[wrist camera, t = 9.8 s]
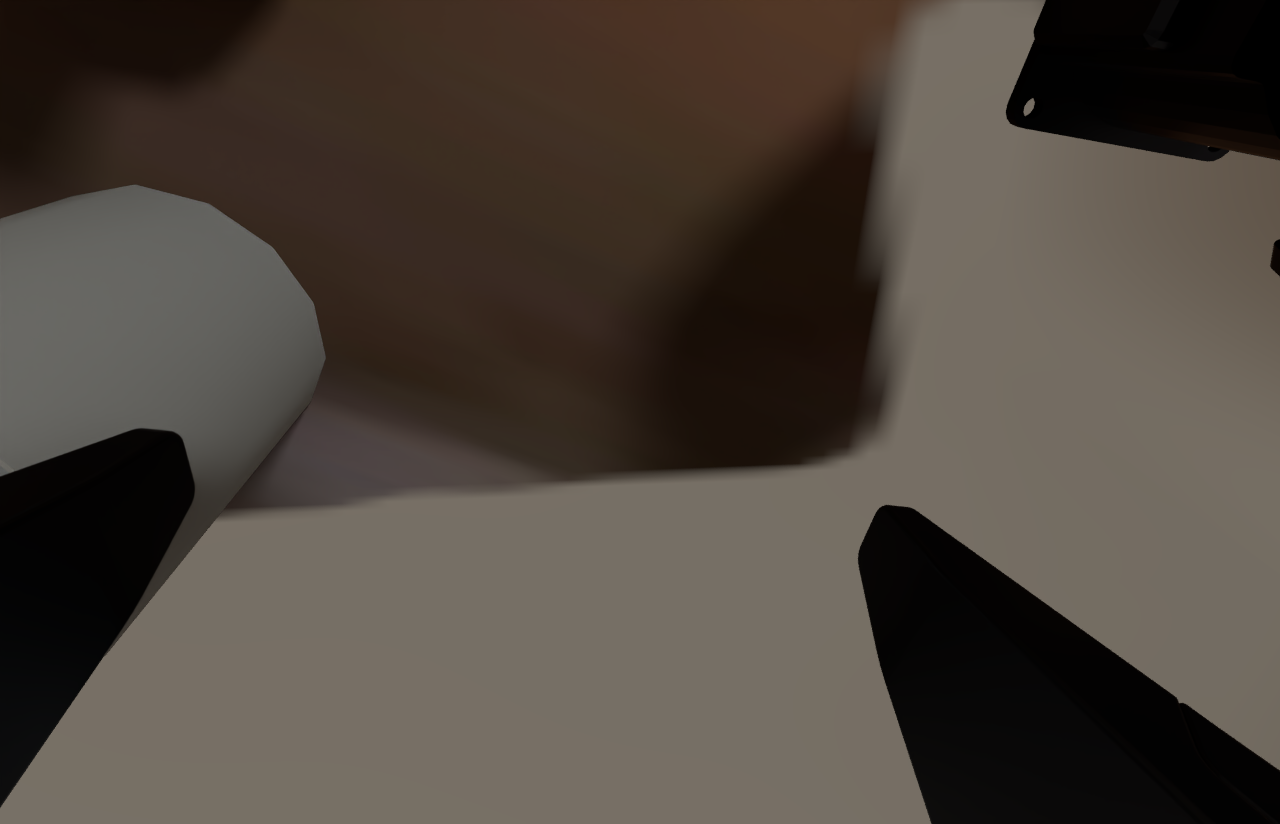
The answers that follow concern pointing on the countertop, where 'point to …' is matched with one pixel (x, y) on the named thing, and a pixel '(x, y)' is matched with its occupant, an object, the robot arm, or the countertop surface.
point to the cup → (151, 340)
